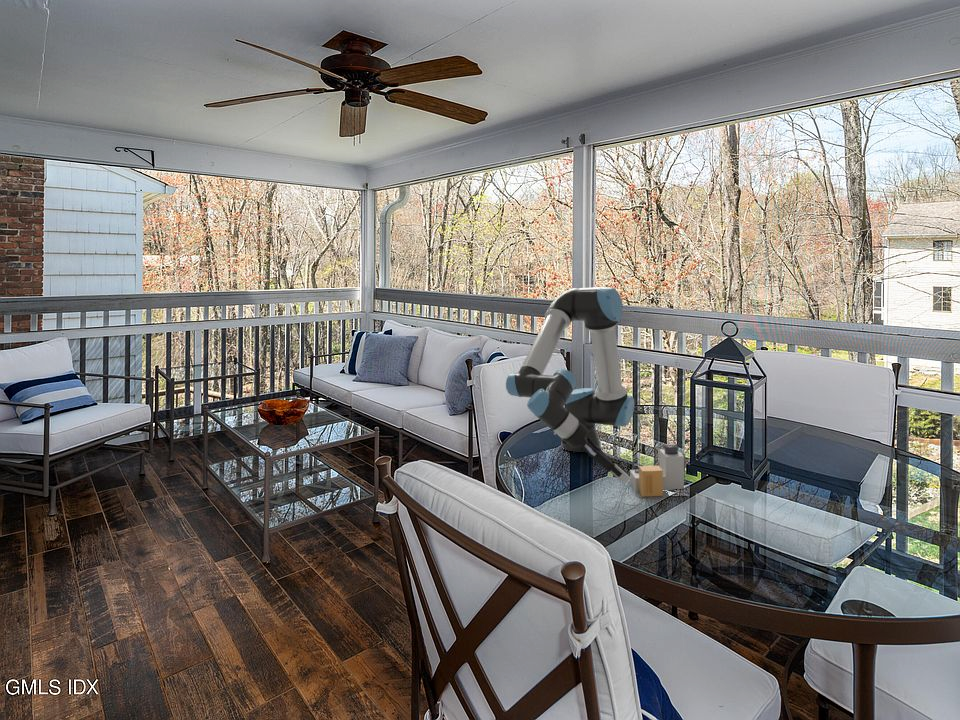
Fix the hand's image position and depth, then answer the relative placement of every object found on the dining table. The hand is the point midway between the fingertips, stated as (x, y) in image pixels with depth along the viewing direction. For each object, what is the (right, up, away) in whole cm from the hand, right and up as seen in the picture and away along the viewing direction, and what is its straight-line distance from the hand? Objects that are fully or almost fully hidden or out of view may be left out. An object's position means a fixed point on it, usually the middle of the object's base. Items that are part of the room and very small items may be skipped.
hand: (627, 480), depth 174 cm
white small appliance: (+11, -4, +5) cm, 13 cm away
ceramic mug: (+20, -1, +21) cm, 29 cm away
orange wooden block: (+8, -4, +1) cm, 9 cm away
